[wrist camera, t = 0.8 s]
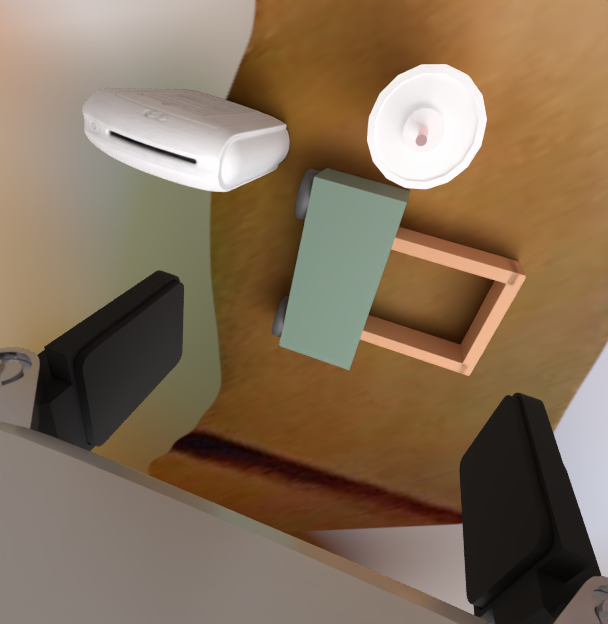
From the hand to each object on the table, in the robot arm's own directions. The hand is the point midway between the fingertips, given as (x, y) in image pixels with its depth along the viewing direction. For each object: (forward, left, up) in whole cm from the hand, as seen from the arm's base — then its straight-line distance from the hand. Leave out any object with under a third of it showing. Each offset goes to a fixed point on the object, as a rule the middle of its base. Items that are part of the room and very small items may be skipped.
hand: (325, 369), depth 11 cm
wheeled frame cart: (+8, +2, -24) cm, 25 cm away
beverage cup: (-5, +1, -24) cm, 25 cm away
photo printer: (-1, -14, -24) cm, 28 cm away
